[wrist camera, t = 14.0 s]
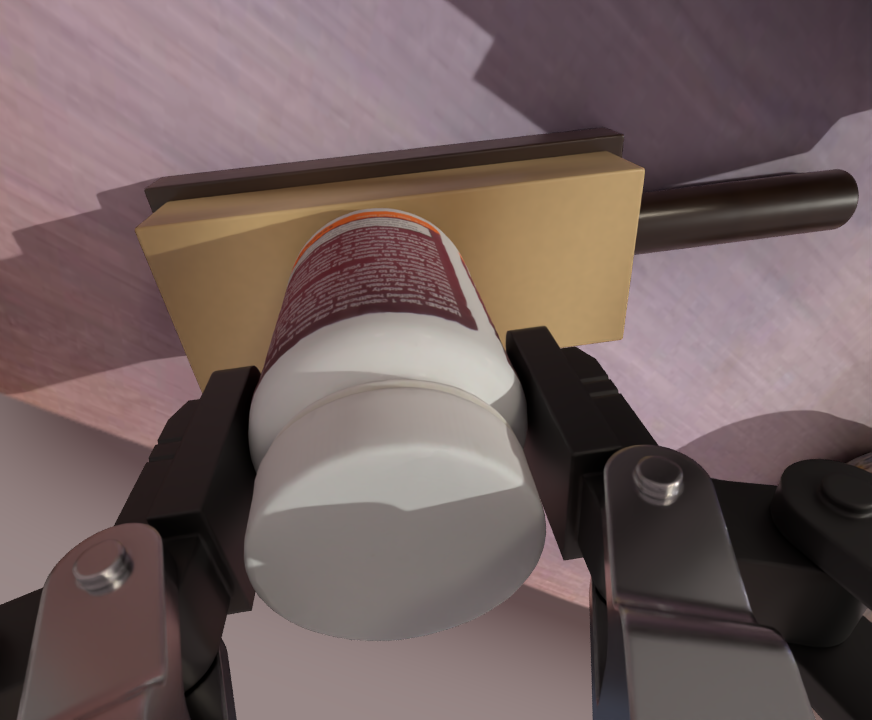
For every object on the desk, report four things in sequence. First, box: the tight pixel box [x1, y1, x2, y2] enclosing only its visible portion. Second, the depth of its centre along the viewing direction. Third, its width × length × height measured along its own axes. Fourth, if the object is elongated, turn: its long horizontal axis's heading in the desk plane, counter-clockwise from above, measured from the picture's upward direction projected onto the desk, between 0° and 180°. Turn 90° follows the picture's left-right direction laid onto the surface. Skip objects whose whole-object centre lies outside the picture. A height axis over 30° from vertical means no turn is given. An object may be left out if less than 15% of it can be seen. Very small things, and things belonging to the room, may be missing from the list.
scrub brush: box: [135, 127, 859, 394], centre depth 16 cm, size 22×6×4 cm, turn 95°
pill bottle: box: [244, 208, 546, 641], centre depth 10 cm, size 5×5×8 cm
